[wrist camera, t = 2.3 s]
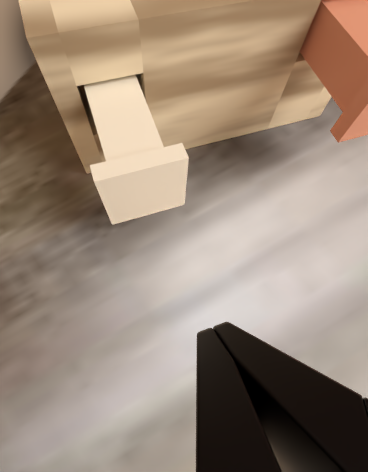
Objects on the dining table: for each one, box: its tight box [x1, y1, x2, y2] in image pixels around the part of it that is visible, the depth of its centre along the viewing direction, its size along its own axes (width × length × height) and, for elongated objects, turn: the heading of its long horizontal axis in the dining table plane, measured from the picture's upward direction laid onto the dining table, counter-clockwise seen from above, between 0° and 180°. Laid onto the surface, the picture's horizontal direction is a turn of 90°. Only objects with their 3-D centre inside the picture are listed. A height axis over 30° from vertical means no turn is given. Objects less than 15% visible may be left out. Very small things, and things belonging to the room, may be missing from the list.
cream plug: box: [84, 75, 189, 225], centre depth 19 cm, size 12×5×5 cm, turn 19°
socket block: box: [19, 0, 332, 174], centre depth 23 cm, size 11×22×11 cm, turn 109°
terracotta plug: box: [300, 0, 368, 142], centre depth 19 cm, size 12×5×5 cm, turn 19°
